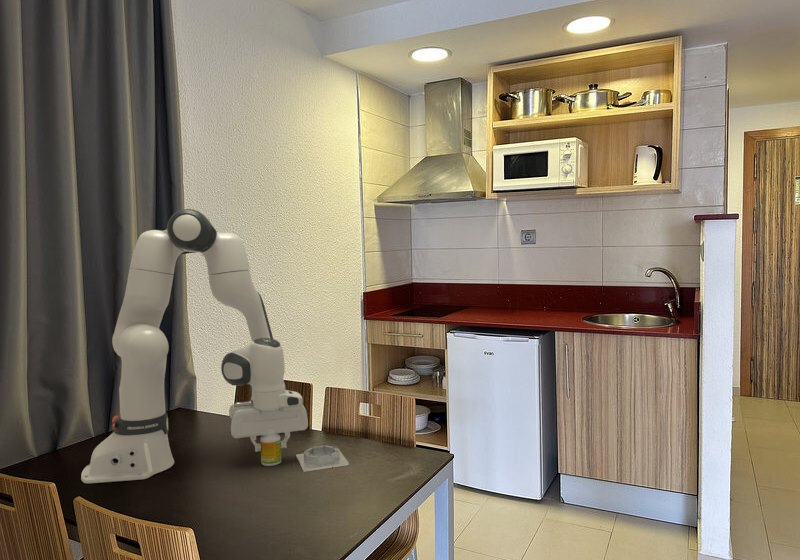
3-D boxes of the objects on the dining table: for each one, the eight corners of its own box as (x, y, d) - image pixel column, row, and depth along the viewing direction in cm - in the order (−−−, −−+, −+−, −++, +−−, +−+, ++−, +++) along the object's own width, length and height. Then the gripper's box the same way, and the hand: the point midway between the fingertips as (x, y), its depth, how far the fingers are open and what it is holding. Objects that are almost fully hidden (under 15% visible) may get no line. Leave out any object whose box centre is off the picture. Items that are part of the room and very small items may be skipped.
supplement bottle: (279, 466, 160) (277, 430, 160) (258, 466, 161) (257, 430, 160) (283, 458, 166) (282, 424, 165) (264, 459, 166) (262, 424, 165)
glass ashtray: (303, 471, 156) (303, 462, 156) (296, 456, 167) (295, 447, 167) (348, 465, 160) (348, 455, 160) (338, 450, 171) (338, 441, 171)
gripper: (229, 406, 156) (231, 458, 157) (308, 397, 162) (310, 448, 163) (228, 400, 162) (230, 450, 163) (304, 392, 168) (305, 441, 169)
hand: (270, 449), depth 163 cm, fingers closed on supplement bottle, 5 cm apart
